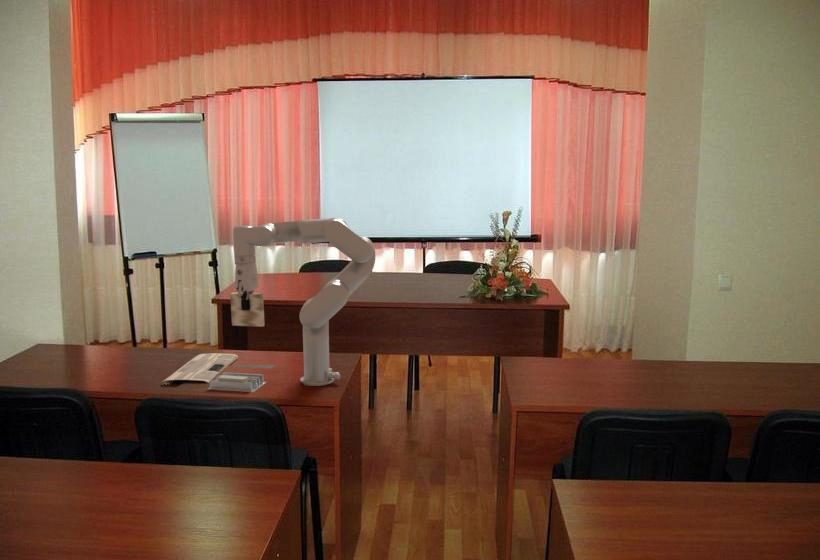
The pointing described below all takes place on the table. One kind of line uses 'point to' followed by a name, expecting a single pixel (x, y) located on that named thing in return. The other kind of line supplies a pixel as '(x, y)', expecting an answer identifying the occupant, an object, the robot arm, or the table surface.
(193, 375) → the newspaper
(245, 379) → the offcut block
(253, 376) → the slot rack
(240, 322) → the birch sheet
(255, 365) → the play button award
